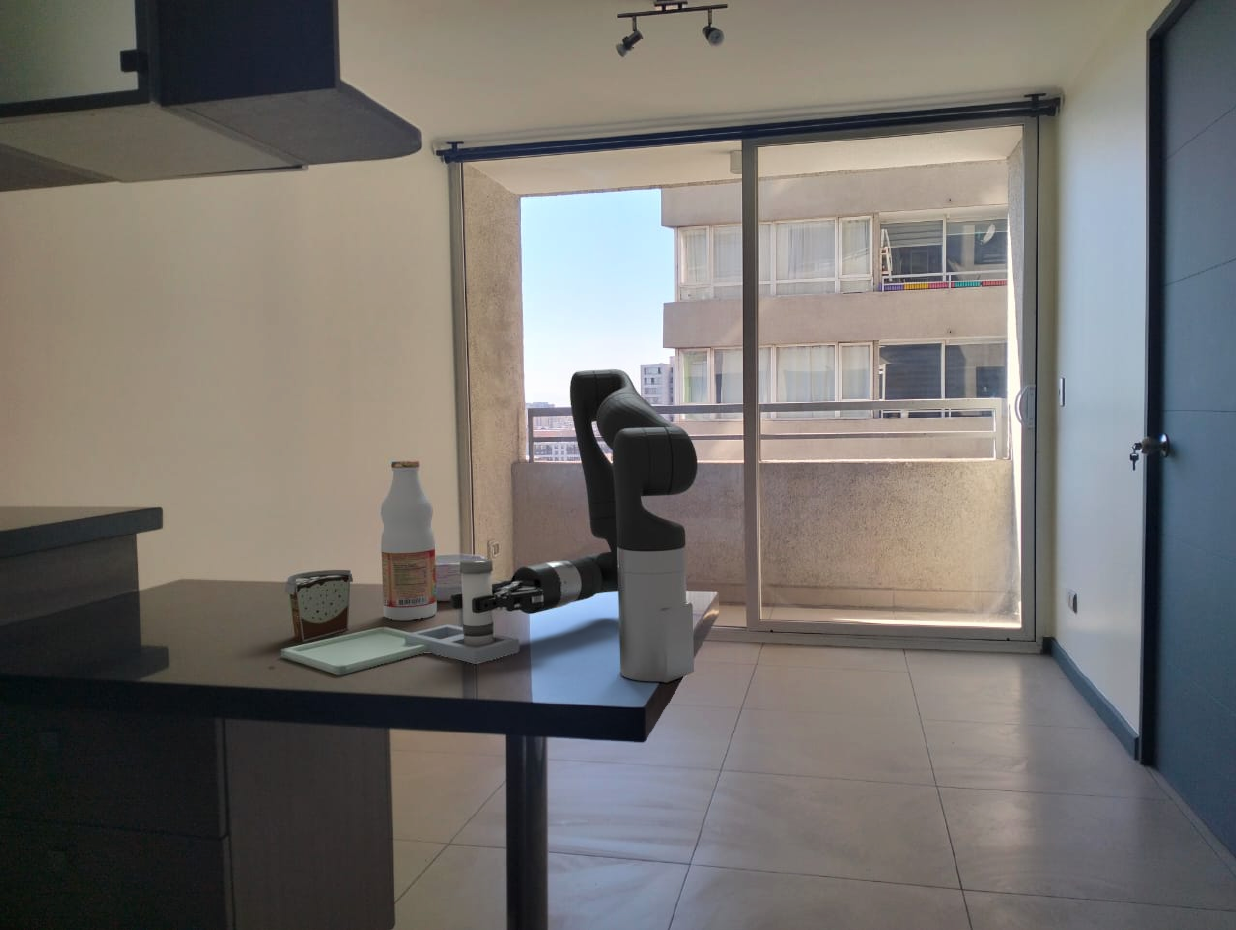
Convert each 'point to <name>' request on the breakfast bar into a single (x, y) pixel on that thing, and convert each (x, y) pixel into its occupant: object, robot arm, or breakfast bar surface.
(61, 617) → the breakfast bar surface
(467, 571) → the grey-capped white cylinder
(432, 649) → the fuse block
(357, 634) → the tray
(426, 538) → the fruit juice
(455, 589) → the paper bowls
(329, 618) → the food container
